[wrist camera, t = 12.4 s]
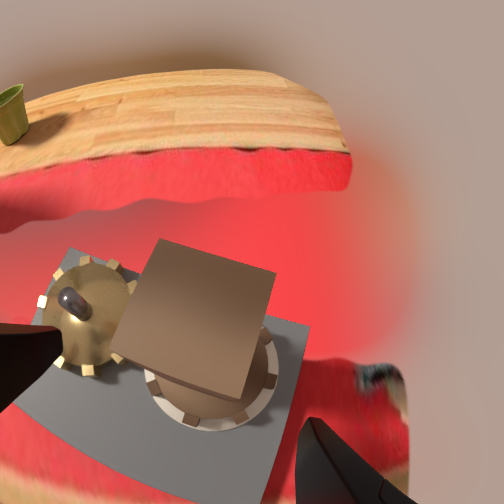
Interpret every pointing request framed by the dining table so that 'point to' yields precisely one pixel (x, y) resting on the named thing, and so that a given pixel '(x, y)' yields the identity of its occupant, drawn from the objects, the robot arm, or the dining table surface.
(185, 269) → the walnut gear
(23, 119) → the plant pot
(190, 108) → the dining table surface
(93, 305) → the brass gear
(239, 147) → the dining table surface
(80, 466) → the dining table surface
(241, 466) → the gear board
